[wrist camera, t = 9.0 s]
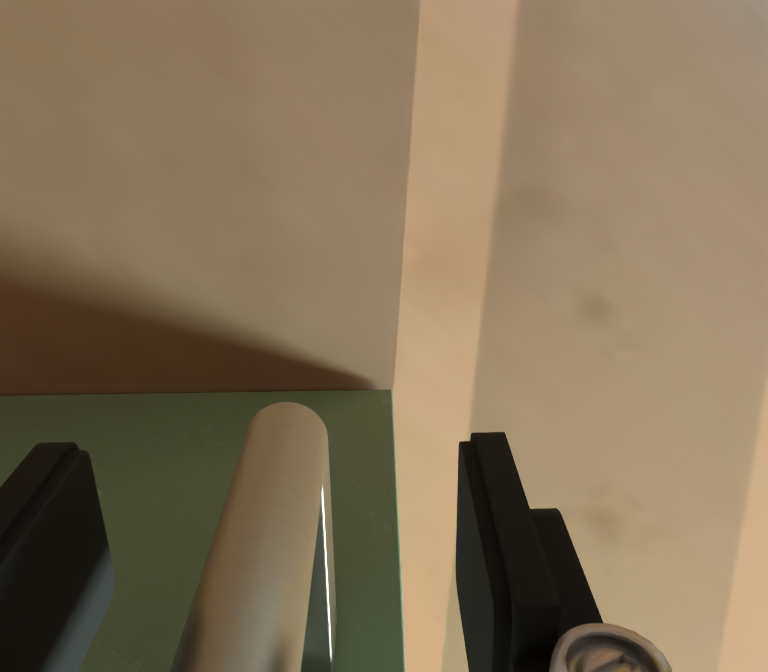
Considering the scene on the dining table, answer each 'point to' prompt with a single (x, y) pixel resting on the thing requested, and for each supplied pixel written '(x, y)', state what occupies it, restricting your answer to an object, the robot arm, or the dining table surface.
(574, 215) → the dining table surface
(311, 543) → the fridge door
